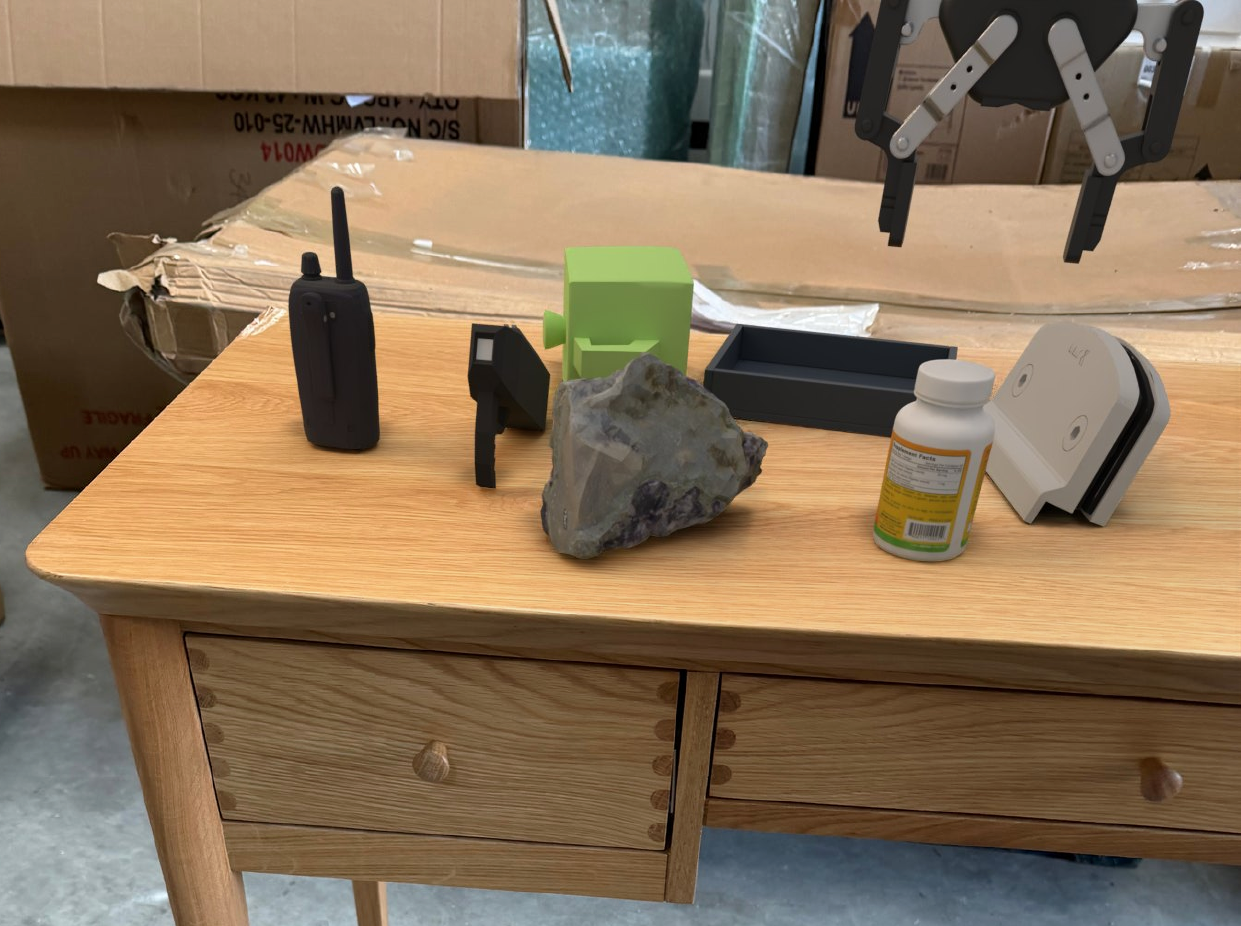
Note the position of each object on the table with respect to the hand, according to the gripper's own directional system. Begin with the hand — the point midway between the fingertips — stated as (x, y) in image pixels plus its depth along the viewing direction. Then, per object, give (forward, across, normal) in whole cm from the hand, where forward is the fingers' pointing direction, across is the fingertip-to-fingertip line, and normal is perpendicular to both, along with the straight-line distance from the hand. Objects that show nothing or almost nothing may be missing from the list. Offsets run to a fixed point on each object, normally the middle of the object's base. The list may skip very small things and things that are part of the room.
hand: (981, 252), depth 59 cm
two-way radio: (+16, +38, -3) cm, 41 cm away
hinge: (+15, -8, -14) cm, 22 cm away
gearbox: (+15, +24, -20) cm, 35 cm away
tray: (+15, +8, -25) cm, 30 cm away
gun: (+16, +27, -6) cm, 32 cm away
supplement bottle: (+15, 0, 0) cm, 16 cm away
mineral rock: (+16, +15, +4) cm, 22 cm away
